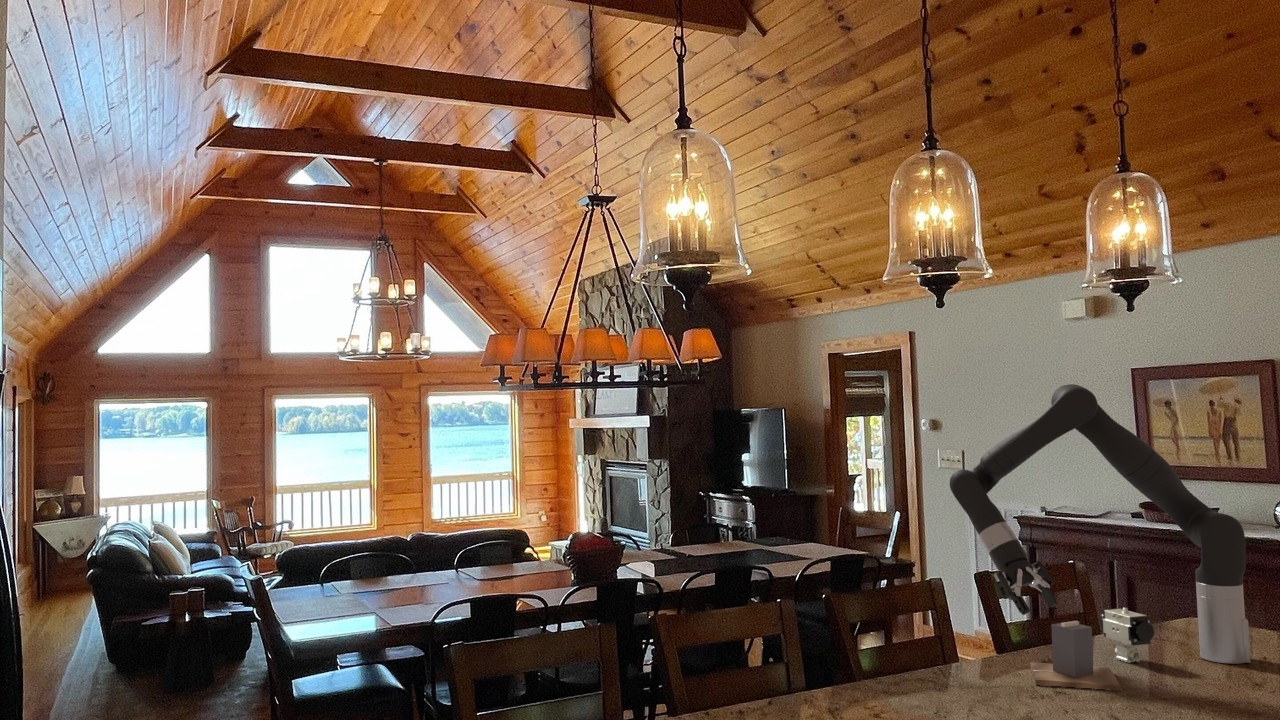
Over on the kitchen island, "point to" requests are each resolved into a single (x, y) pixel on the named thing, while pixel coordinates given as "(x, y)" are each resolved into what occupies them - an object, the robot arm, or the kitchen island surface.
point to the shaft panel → (1099, 680)
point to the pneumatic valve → (1126, 632)
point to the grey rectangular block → (1072, 649)
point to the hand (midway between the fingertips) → (1040, 609)
